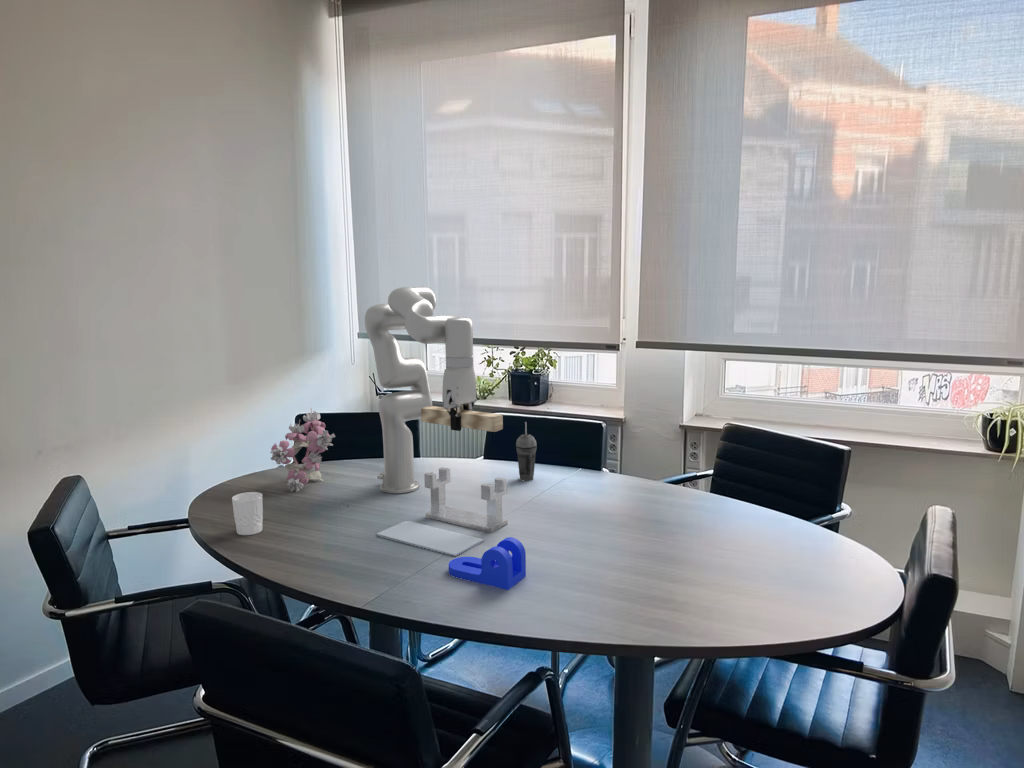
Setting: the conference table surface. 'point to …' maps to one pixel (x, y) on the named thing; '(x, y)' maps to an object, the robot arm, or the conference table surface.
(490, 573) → the bracket
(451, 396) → the robot arm
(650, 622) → the conference table surface
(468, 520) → the rail stand
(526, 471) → the beverage cup
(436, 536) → the mat
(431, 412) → the rail
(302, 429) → the flower
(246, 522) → the white cup
